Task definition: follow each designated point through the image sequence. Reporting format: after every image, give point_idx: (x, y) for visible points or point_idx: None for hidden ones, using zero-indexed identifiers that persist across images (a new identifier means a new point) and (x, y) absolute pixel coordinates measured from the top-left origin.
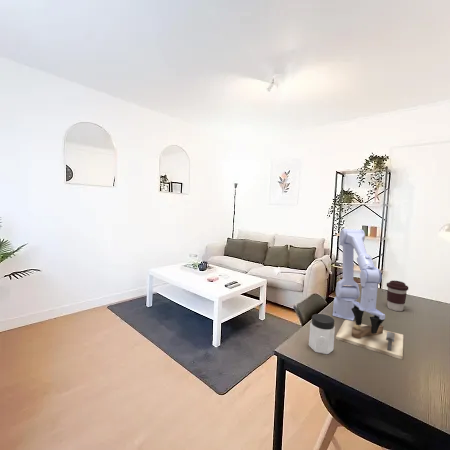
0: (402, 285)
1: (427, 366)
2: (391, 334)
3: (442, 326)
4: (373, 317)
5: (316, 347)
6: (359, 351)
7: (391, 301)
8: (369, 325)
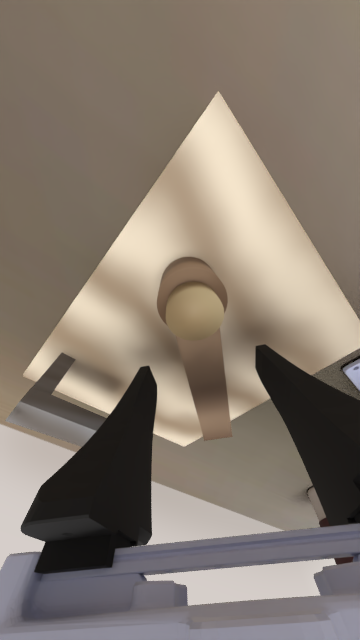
0: None
1: (14, 405)
2: (75, 435)
3: (219, 503)
4: (81, 529)
5: None
6: (50, 208)
7: None
8: (225, 400)
